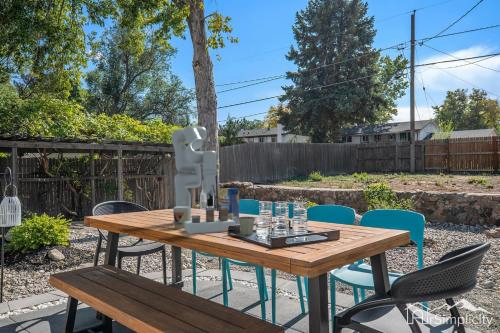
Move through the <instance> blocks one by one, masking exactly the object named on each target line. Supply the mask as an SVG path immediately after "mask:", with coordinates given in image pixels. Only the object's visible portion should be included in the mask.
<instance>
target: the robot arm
mask: <svg viewBox="0 0 500 333" xmlns="http://www.w3.org/2000/svg"><path fill="white" fill-rule="evenodd" d="M207 134H208V132H207V130H206V128H205V127H204V126H195V125H188V126H187V125H186V126H185V127H184V128H178V129H177V128H176V129H174V130H173V131H172V133H171V143H172V146H173V149H174V157H175V158H174V159H175V168H176V170H177V171H178V172H183V173H177V174H176V175H174V180H173V182H174V188H175V189H174V190H175V207H178V206H187V207H189V218H188V221H192V217H191V216H192V205H191V204H192V200H191V199H192V194H191V192H190V191H189V189H193V188H194V189H195V188H200V186H201V185H202V193H203V194H206V207H214V196H215V194H216V191H217V183H216V182H217V181H216V180H217V179H216V176H218V175H217V174H218V173H217V152H216V151H214V150H199V149H201V147H202V146H203V145H204V142H203V141H204V140H206V138H207ZM185 143H187V145H186V144H185ZM201 165H202V168H201ZM201 169H202V170H201ZM188 172H189V173H188ZM202 176H203V183H202Z"/></svg>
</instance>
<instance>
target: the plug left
mask: <svg viewBox="0 0 500 333" xmlns="http://www.w3.org/2000/svg"><path fill="white" fill-rule="evenodd" d="M191 220H192V223H200V221H201V215H199V214H197V215H196V214H195V215H191Z"/></svg>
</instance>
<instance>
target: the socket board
mask: <svg viewBox="0 0 500 333" xmlns="http://www.w3.org/2000/svg"><path fill="white" fill-rule="evenodd" d="M184 224H185V228H184V232H186V233H188V234H190V235H192V234H206V233H218V232H229V231H228V227H229V226H235V225H236V221H233V220H230V219H228V221H220V220H219V219H214V222H206V219H205V220H200V223H192V221H186V222H184ZM236 226H237V225H236Z"/></svg>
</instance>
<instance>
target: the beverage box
mask: <svg viewBox="0 0 500 333" xmlns="http://www.w3.org/2000/svg"><path fill="white" fill-rule="evenodd" d="M219 207H228V219H230V220H233V221H236V224H237V225H240V224H239V219H238V217H240V188H232V187H231V188H228V187H227V188H225V187H224V188H223V187H221V188H218V220H220V209H219Z"/></svg>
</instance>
